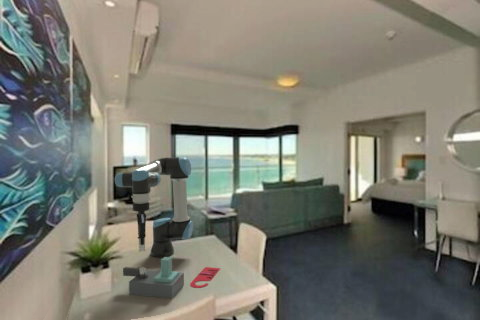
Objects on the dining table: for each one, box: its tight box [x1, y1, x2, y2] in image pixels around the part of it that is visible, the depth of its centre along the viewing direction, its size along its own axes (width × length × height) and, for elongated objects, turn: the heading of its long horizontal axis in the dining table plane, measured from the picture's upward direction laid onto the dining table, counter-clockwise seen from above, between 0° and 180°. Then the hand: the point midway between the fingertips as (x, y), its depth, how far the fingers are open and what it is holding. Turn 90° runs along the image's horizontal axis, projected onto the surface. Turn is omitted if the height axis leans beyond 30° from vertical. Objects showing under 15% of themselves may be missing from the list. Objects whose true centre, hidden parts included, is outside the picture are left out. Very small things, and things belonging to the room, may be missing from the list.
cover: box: [154, 256, 180, 283], centre depth 137 cm, size 9×9×10 cm
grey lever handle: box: [122, 266, 147, 278], centre depth 139 cm, size 12×3×4 cm, turn 81°
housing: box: [128, 269, 185, 299], centre depth 138 cm, size 14×22×6 cm, turn 79°
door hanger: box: [190, 266, 221, 289], centre depth 151 cm, size 9×1×25 cm
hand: (142, 250), depth 135 cm, fingers closed
